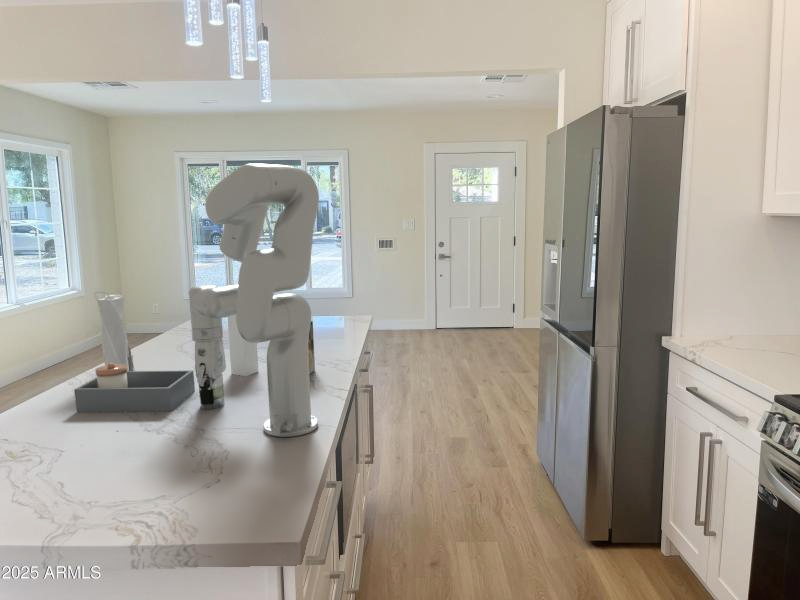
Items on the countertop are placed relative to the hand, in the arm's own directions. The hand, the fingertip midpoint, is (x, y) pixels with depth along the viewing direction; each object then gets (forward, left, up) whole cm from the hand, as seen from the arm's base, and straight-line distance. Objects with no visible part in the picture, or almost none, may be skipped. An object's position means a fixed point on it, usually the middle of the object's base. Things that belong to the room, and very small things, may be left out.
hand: (212, 399), depth 150 cm
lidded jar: (+1, +26, -1) cm, 27 cm away
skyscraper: (+22, +36, -2) cm, 42 cm away
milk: (+30, 0, -2) cm, 30 cm away
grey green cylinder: (0, 0, -2) cm, 2 cm away
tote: (+1, +20, -2) cm, 20 cm away
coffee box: (+28, -18, -2) cm, 33 cm away
